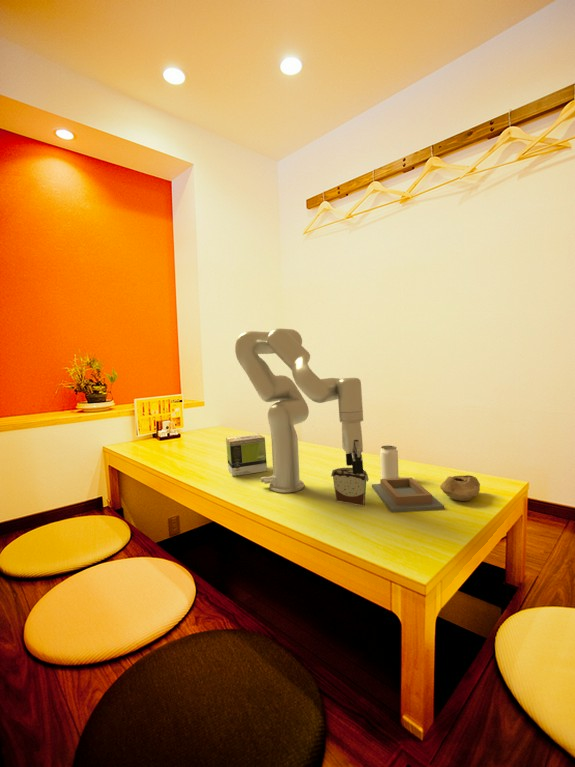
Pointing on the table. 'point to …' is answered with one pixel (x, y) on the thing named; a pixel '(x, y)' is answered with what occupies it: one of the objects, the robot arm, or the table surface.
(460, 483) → the oil lamp
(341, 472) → the food container
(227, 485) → the table surface
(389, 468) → the can
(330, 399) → the robot arm
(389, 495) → the tray
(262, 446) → the tea box
